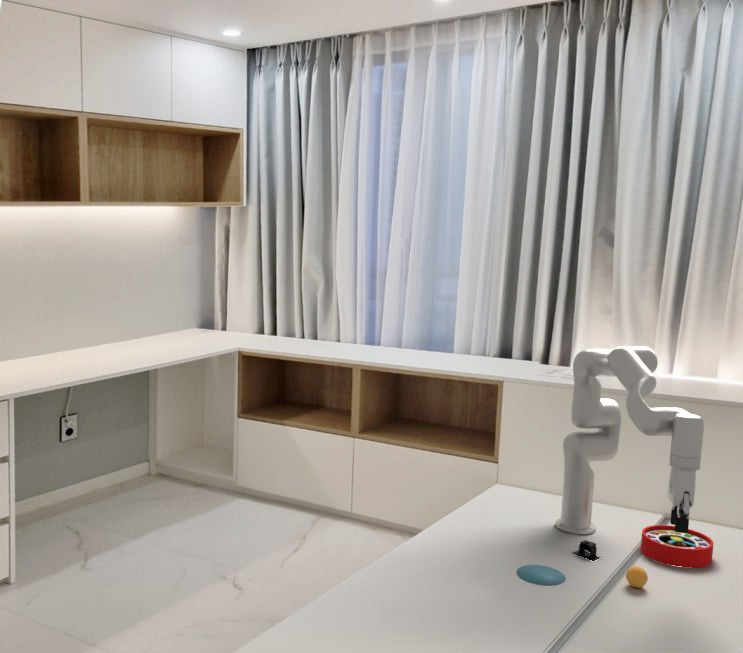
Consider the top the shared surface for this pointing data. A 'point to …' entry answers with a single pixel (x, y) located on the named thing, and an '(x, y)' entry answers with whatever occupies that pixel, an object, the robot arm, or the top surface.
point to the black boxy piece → (589, 547)
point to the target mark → (541, 575)
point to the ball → (636, 576)
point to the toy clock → (677, 546)
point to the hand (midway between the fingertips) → (678, 527)
